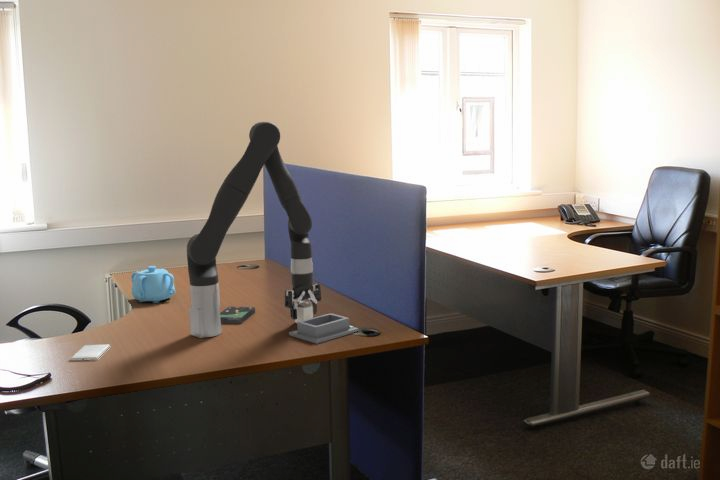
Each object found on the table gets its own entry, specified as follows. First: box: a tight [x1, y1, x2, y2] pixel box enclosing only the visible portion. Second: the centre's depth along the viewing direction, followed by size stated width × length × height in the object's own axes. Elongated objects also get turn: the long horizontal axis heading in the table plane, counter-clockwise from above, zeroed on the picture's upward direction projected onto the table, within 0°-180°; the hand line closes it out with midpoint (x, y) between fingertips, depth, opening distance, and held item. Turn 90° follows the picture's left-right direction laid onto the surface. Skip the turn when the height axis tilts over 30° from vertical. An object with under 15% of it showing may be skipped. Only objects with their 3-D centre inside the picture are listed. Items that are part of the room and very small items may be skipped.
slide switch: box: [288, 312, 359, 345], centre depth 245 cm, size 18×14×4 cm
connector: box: [294, 300, 314, 324], centre depth 258 cm, size 4×5×7 cm
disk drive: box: [220, 306, 256, 325], centre depth 268 cm, size 10×3×15 cm
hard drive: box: [69, 343, 111, 361], centre depth 230 cm, size 2×8×12 cm
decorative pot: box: [131, 265, 177, 304], centre depth 297 cm, size 16×16×14 cm
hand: (304, 316), depth 258 cm, fingers open, 8 cm apart
